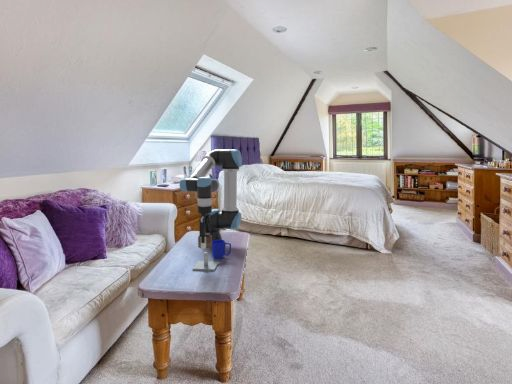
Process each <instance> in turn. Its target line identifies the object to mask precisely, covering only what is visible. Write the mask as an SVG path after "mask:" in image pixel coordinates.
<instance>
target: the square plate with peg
mask: <svg viewBox="0 0 512 384" xmlns="http://www.w3.org/2000/svg"><path fill="white" fill-rule="evenodd" d="M219 264H220V261H215V260H213V261H209V252H207V251H205V252H203V260H198V261H197V262H196V263H195V265H194V266H193V267H192V271H197V272H198V271H201V272H215V270H216V269H217V267H218V266H219Z"/></svg>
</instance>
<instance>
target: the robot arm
mask: <svg viewBox="0 0 512 384" xmlns="http://www.w3.org/2000/svg"><path fill="white" fill-rule="evenodd" d="M242 166H243V158H242V154H241V151H240V150H239V149H234V148H233V149H229V148H228V149H225V148H222V149H219V148H217V149H214V150H210V151H209V152H208V153H206V154H205V155H204V156H203V157H202V159H201V162H200V163H199V164H198V165H197V167H196V168H195V169H194V170H193V171H192V172H191V173H190V175H189V176H188V177H187V178H181V179H180V181H179V190H180V191H182V192H187V193H189V192H191V193H195V192H196V193H197V199H196V201H197V205H198V206H197V213H198V214H200V215H201V216H200V218H199V219H198V220H199V235H198V236H199V237H201V248H200V249H203V250H205V249H206V237H205V234H206V235H211V236H212V241H213V240H223V237H222V234H221V232H220V231H221V230H222V229H223V230H231V231H232V230H238V228H240V226H241V223H242V213H241V212H240V211H239V208H238V207H237V203H238V202H237V201H238V200H237V197H238V196H237V194H238V193H237V189H238V188H237V186H238V185H237V182H238V180H237V179H238V175H237V174H238V171H239V170H240V168H241V167H242ZM215 167H221V170H222V171H223V207H222V208H221V209H219V208H212V207H213V206H212V203H213V201H212V193H215V192H217V191H218V190H219V188H220V182H219V180H217V179H216V178H211V177H209V176H207V174H208V173H209V172H210V171H211V170H213V169H214V168H215ZM220 210H221V211H220ZM220 229H221V230H220ZM206 250H207V249H206Z"/></svg>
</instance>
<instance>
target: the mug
mask: <svg viewBox="0 0 512 384" xmlns="http://www.w3.org/2000/svg"><path fill="white" fill-rule="evenodd" d="M226 245H229V251H228V253H226ZM231 249H232V243H230V242H226V241H225V240H224V239H222V240H213V241H212V247H211V252H212V257H213V258H214V259H218V260H219V259H223V258H224V257H225V256H230V254H231Z"/></svg>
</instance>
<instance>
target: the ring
mask: <svg viewBox="0 0 512 384" xmlns="http://www.w3.org/2000/svg"><path fill="white" fill-rule="evenodd" d="M205 237H206V250H207V249H210V248H211V249H212V236H211V235H206V234H205ZM197 243H198V245H197V246H198V248H199V249H201V237H199V235H198V237H197Z"/></svg>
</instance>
